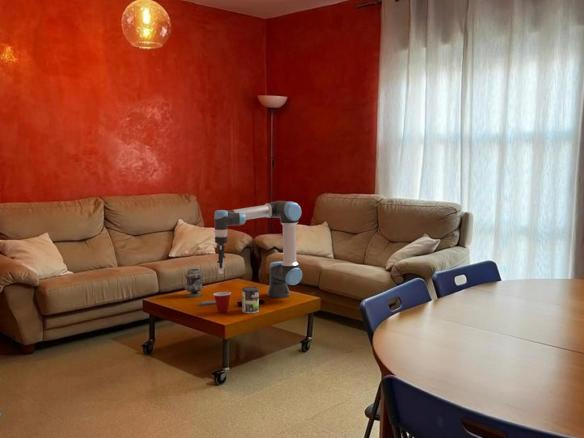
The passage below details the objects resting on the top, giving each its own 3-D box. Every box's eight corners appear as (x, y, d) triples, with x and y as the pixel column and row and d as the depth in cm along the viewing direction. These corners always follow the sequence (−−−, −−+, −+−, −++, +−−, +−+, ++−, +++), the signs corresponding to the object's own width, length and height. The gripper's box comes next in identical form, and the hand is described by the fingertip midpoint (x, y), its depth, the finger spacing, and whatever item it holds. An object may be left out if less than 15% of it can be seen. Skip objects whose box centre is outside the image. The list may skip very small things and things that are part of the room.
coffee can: (262, 310, 337) (262, 288, 335) (251, 314, 329) (251, 291, 327) (249, 307, 343) (249, 285, 341) (238, 311, 335) (238, 288, 333)
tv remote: (221, 302, 357) (221, 299, 356) (223, 304, 352) (223, 301, 352) (199, 305, 351) (198, 301, 351) (200, 306, 347) (200, 303, 347)
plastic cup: (224, 308, 341) (224, 289, 340) (235, 312, 333) (234, 292, 332) (210, 311, 334) (209, 292, 333) (219, 315, 326) (219, 296, 324)
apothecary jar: (204, 293, 379) (203, 267, 377) (202, 297, 367) (201, 271, 365) (186, 293, 378) (186, 267, 376) (183, 298, 366) (183, 271, 364)
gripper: (216, 233, 340) (216, 267, 343) (213, 239, 315) (213, 275, 318) (228, 233, 341) (228, 266, 343) (226, 239, 316) (226, 275, 318)
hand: (221, 271), depth 330 cm, fingers open, 13 cm apart
